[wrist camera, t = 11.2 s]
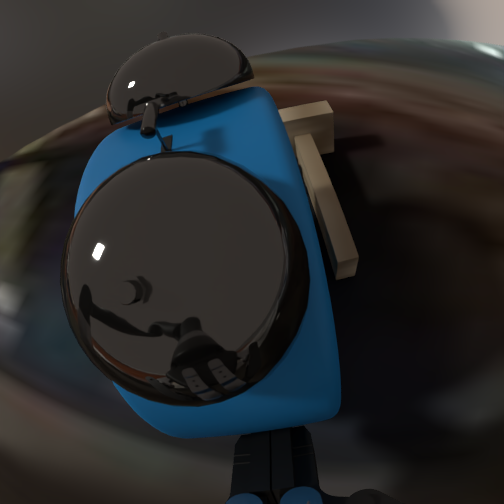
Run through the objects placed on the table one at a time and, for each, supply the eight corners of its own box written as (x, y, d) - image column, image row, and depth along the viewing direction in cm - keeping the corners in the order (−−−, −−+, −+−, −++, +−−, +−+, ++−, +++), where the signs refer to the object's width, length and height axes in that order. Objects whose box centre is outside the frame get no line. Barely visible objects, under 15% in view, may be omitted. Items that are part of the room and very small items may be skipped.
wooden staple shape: (138, 322, 20) (104, 301, 17) (141, 188, 26) (119, 157, 22) (381, 268, 19) (393, 235, 15) (328, 139, 24) (326, 100, 21)
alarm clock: (203, 233, 22) (92, 43, 9) (291, 213, 22) (244, -10, 9) (226, 430, 16) (-19, 439, 3) (336, 412, 15) (425, 429, 2)
